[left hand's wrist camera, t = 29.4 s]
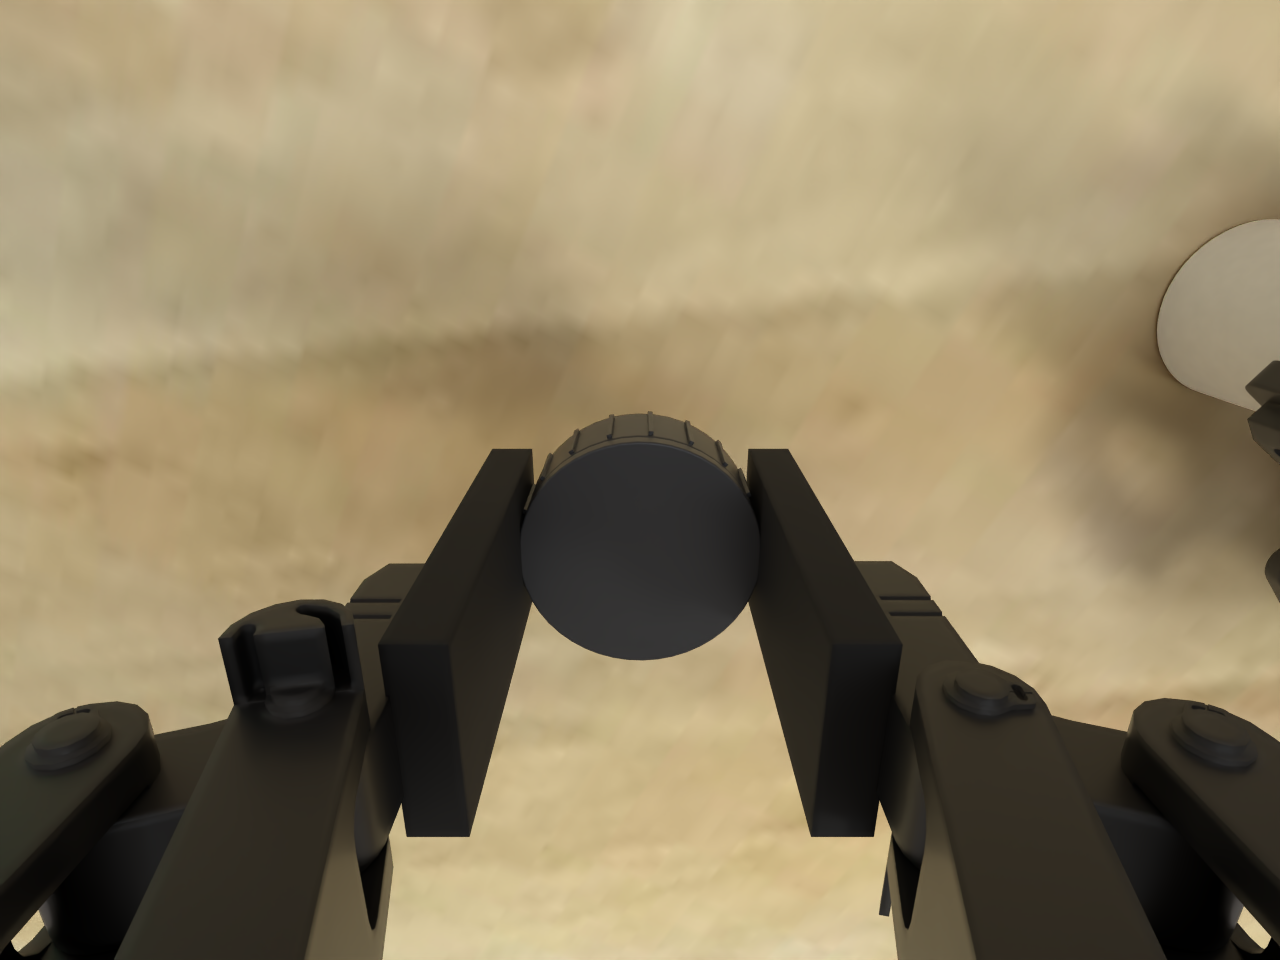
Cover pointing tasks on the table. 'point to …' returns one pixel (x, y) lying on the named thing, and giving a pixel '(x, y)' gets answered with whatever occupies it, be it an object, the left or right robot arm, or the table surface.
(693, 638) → the cap
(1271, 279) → the bottle
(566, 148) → the table surface
